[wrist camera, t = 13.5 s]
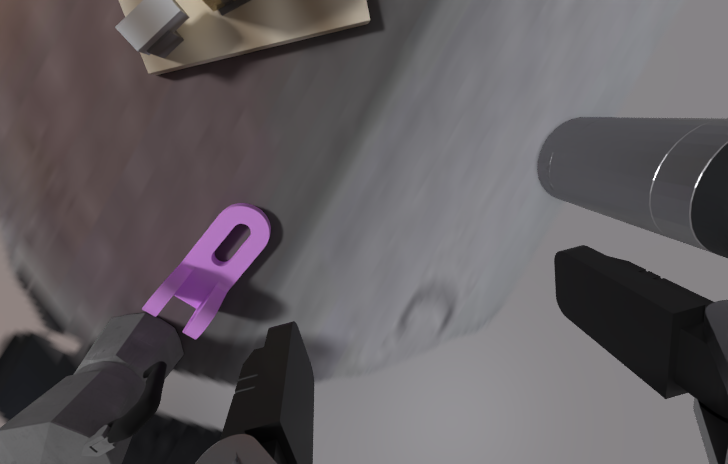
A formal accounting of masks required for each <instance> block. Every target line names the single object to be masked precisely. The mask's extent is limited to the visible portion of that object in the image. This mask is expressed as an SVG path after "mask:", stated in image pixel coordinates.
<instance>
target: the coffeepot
mask: <svg viewBox="0 0 728 464" xmlns="http://www.w3.org/2000/svg"><path fill="white" fill-rule="evenodd" d="M183 355H184V353H183V349H182V344H181V340H180V337H179V335H178V333H177V332H176V329H175V328H174V327H173V326H171V325H170V324H168V323H167V322H165V321H164V320H162V319H160V318H158V317H155V316H152V315H149V314H147V313H136V314H128V315H123V316H121V317H114V318H111V320H110V321H109V323H108V324H107V325H106V327H105V328H104V330H103V331H102V333H101V334H100V335H99V337H98V338H97V340H96V341H95V343H94V344H93V346H92V347H91V349H90V350H89V352H88V353H87V355H86V357H85V358H84V360H83V361H82V363H81V364H80V366H79V367H78V369H77V370H76V372H75V373H74V375H71V376H67V377H65V378H64V379H63V380H62V381H60V382H59V383H58V384H56V385H55V386H54V387H52V388H51V389H50V390H49V391H47V392H46V393H45V394H43V395H42V396H41V397H40V398H38V399H37V400H36V401H34V402H33V403H32V404H30V405H29V406H28V407H27V408H25V409H24V410H23V411H21V412H20V413H19V414H18V415H16V416H15V417H14V418H12V419H11V420H10V421H8V422H7V423H6V424H5V425H3V426H2V427H1V428H0V464H122V461H123V458H124V456H125V453H126V451H127V448H128V446H129V443H130V440H131V438H132V436H133V435H134V434H136V433H137V432H138V431H139V430H140V429H141V428H142V427H143V426H144V425H145V424H146V423H147V422H148V421H149V420H150V419H151V418H152V416H153V415H154V414H155V412H156V411H157V409H158V406H159V404H160V400H161V393H162V388H163V384H164V379H165V378H166V377H167V376H168V374H169V373H170V372H171V371H172V369H173V368H174V367H175V365H176V364H177V363H178V361H179V360H180V359H181V358H182V356H183Z"/></svg>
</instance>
